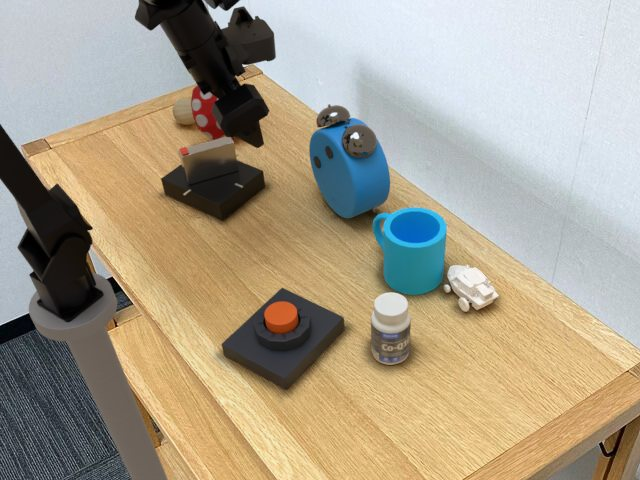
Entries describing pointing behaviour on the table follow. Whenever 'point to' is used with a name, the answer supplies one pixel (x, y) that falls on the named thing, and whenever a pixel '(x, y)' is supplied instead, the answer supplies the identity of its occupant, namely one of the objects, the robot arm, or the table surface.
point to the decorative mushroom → (199, 113)
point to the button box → (284, 340)
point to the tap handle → (208, 160)
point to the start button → (281, 317)
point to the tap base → (216, 190)
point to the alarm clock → (348, 163)
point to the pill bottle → (390, 328)
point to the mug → (412, 249)
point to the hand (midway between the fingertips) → (248, 126)
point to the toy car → (470, 287)
